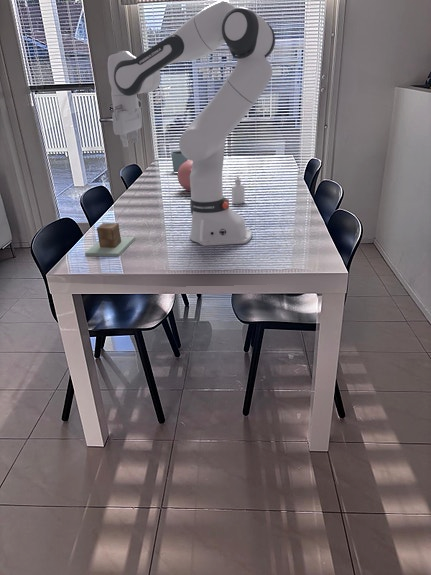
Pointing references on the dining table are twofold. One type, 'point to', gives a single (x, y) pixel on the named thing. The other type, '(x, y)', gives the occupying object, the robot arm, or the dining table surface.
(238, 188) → the eye dropper bottle
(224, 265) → the dining table surface
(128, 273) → the dining table surface
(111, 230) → the walnut cap
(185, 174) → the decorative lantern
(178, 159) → the drinking glass
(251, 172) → the dining table surface
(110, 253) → the post board
